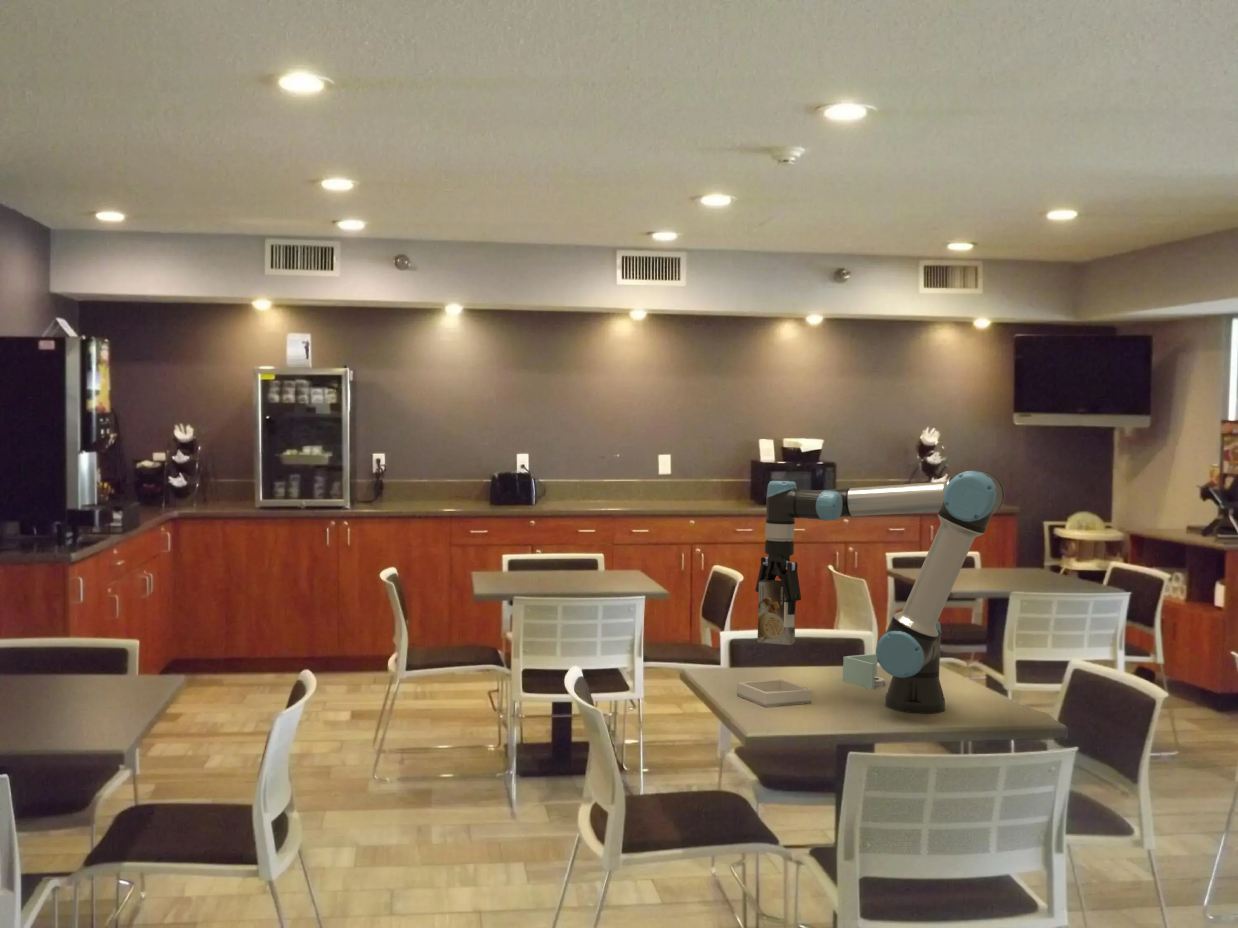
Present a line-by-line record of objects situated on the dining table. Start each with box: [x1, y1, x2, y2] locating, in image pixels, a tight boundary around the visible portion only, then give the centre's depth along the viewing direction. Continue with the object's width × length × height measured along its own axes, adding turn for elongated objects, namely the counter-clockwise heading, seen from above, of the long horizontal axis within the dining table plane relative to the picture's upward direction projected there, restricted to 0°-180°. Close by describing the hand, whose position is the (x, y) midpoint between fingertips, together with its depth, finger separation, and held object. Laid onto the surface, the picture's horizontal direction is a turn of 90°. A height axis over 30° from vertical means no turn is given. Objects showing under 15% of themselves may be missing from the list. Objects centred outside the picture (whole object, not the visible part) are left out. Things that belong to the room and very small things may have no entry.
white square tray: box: [736, 678, 813, 708], centre depth 298 cm, size 14×14×4 cm
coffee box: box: [756, 579, 796, 646], centre depth 298 cm, size 9×6×16 cm
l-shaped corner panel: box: [842, 653, 886, 690], centre depth 323 cm, size 12×12×8 cm
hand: (776, 623), depth 298 cm, fingers closed on coffee box, 11 cm apart
